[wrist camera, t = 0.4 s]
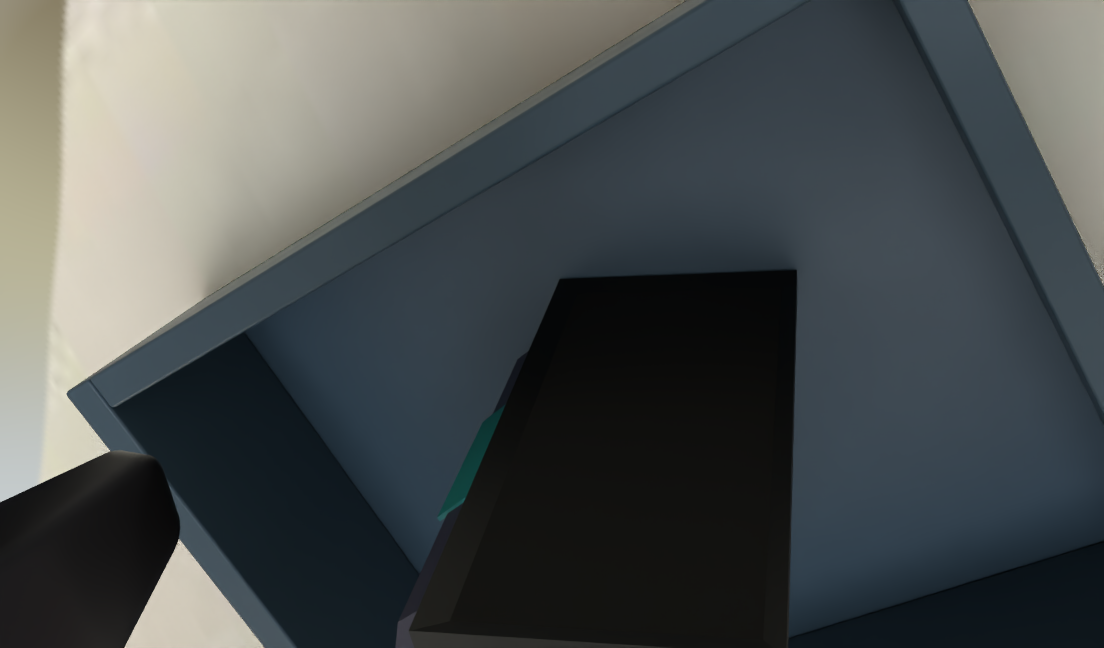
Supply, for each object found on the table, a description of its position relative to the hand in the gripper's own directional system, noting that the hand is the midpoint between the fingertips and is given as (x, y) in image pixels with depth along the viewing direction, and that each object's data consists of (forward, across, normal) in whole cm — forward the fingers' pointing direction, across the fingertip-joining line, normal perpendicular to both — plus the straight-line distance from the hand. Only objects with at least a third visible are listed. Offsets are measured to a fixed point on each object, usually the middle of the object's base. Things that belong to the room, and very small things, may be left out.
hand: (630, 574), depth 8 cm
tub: (+13, +2, +8) cm, 16 cm away
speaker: (+13, +2, +8) cm, 16 cm away
